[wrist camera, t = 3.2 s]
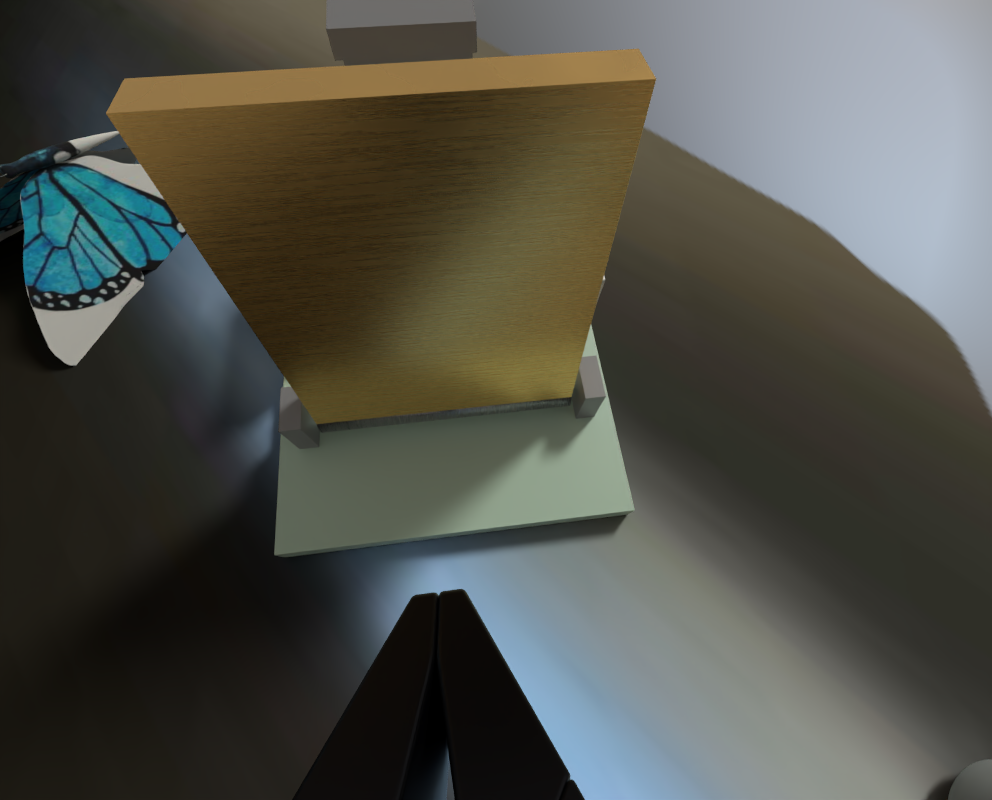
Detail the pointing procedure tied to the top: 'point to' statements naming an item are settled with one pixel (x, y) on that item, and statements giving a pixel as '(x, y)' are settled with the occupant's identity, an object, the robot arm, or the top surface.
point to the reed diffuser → (973, 782)
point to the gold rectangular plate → (404, 219)
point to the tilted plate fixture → (451, 442)
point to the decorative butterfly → (84, 236)
